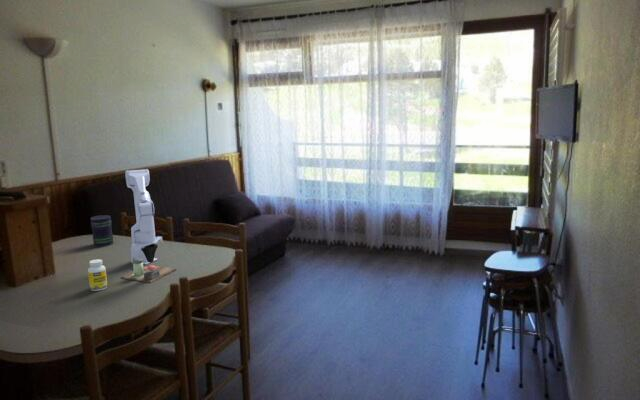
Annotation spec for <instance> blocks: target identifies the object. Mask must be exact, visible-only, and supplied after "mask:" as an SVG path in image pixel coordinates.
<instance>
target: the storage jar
mask: <svg viewBox="0 0 640 400" xmlns="http://www.w3.org/2000/svg"><path fill="white" fill-rule="evenodd" d="M90 225H91V229H92V241H93V246H94V247H96V248H103V247H105V248H106V247H109V246H111V245H114V235H113V231H112V219H111V215H110V214H103V215H102V214H101V215H94V216H91V217H90Z"/></svg>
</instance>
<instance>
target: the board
mask: <svg viewBox="0 0 640 400" xmlns="http://www.w3.org/2000/svg"><path fill="white" fill-rule="evenodd" d="M147 266H150V264H146V265H143V269H144V275H143V276H140V277H135V276H134V270H133V271H131V272H129V273H127V274H124V275H122V276H121V277H120V278H121V279H125V280H130V281H131V280H132V281H136V282H137V281H138V282H144V283H154V282H155V281H158V280H160V279H162V278H164V277H165V276H167V275H169V274H171V273H174V272H176V271H177V268H175V267H174V268H172V267H166V266H158V265H154V266H155V269H154V270H152V271H149V270H148V269H147Z"/></svg>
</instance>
